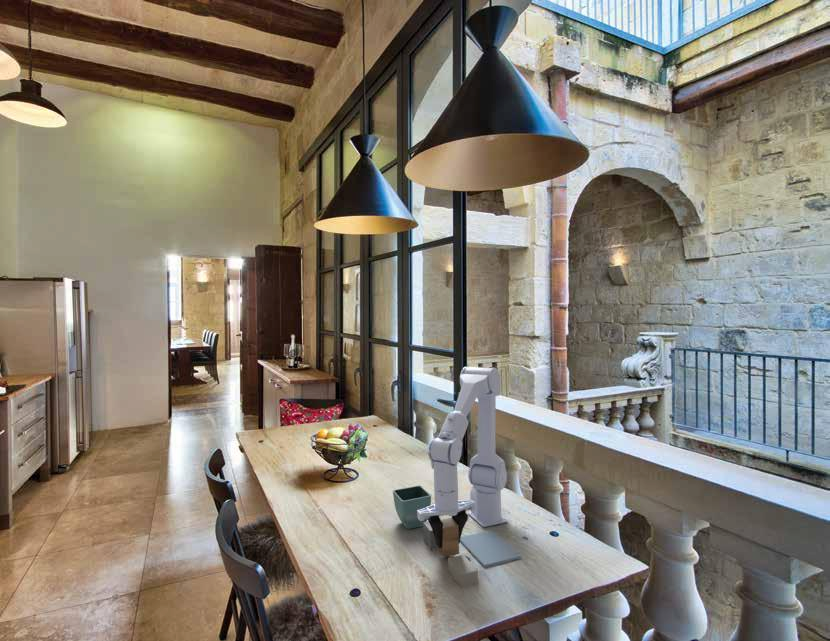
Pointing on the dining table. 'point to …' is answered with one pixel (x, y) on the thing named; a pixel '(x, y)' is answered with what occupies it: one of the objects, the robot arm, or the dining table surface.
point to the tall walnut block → (449, 538)
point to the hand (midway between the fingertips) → (447, 544)
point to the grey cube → (429, 536)
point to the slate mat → (489, 548)
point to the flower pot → (411, 504)
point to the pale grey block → (463, 570)
